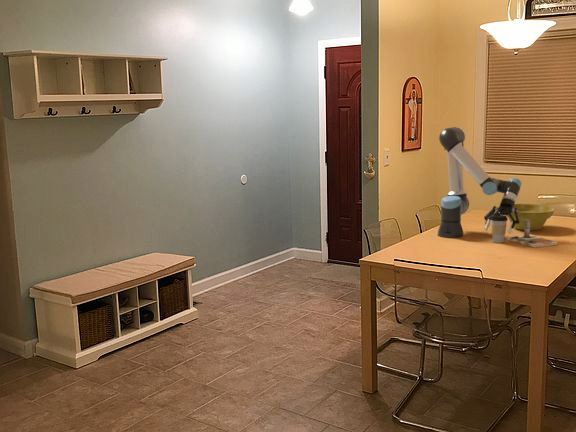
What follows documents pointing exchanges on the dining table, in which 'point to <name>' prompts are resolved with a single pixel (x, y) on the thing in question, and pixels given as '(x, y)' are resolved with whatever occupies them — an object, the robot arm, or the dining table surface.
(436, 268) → the dining table surface
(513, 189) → the robot arm
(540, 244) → the control board
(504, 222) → the coffee cup
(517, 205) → the planter bowl
